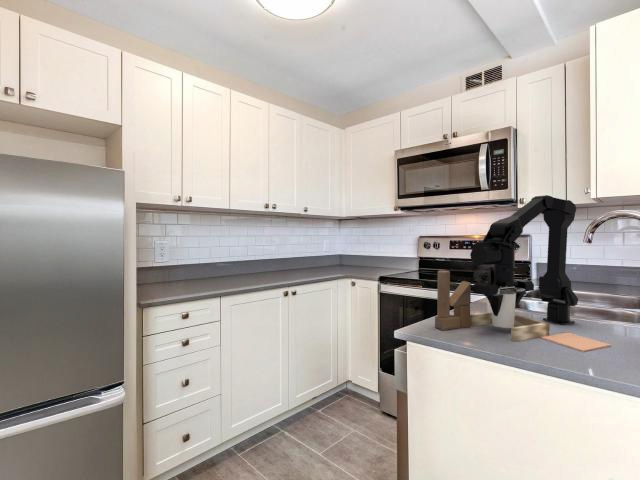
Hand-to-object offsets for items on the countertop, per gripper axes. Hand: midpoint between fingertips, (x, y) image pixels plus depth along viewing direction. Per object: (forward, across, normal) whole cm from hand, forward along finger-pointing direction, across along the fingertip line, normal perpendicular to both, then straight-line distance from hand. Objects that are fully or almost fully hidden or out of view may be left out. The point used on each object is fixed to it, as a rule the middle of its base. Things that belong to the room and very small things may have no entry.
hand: (503, 315), depth 102 cm
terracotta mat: (+5, -10, +14) cm, 18 cm away
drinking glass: (+3, 0, 0) cm, 3 cm away
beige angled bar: (+5, -2, 0) cm, 5 cm away
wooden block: (+5, +11, -9) cm, 15 cm away
